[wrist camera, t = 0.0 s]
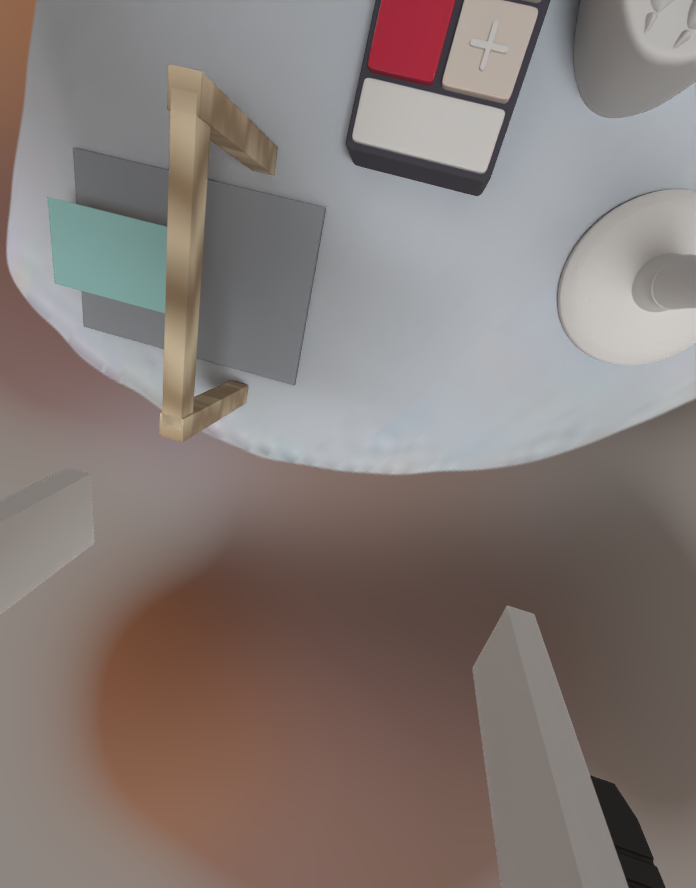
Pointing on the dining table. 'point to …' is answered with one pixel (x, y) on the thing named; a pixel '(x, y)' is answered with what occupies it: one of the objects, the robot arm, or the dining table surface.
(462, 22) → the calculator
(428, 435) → the dining table surface
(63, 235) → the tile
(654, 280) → the candlestick
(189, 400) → the rail
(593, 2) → the lumpy-topped squat cylinder
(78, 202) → the mat
